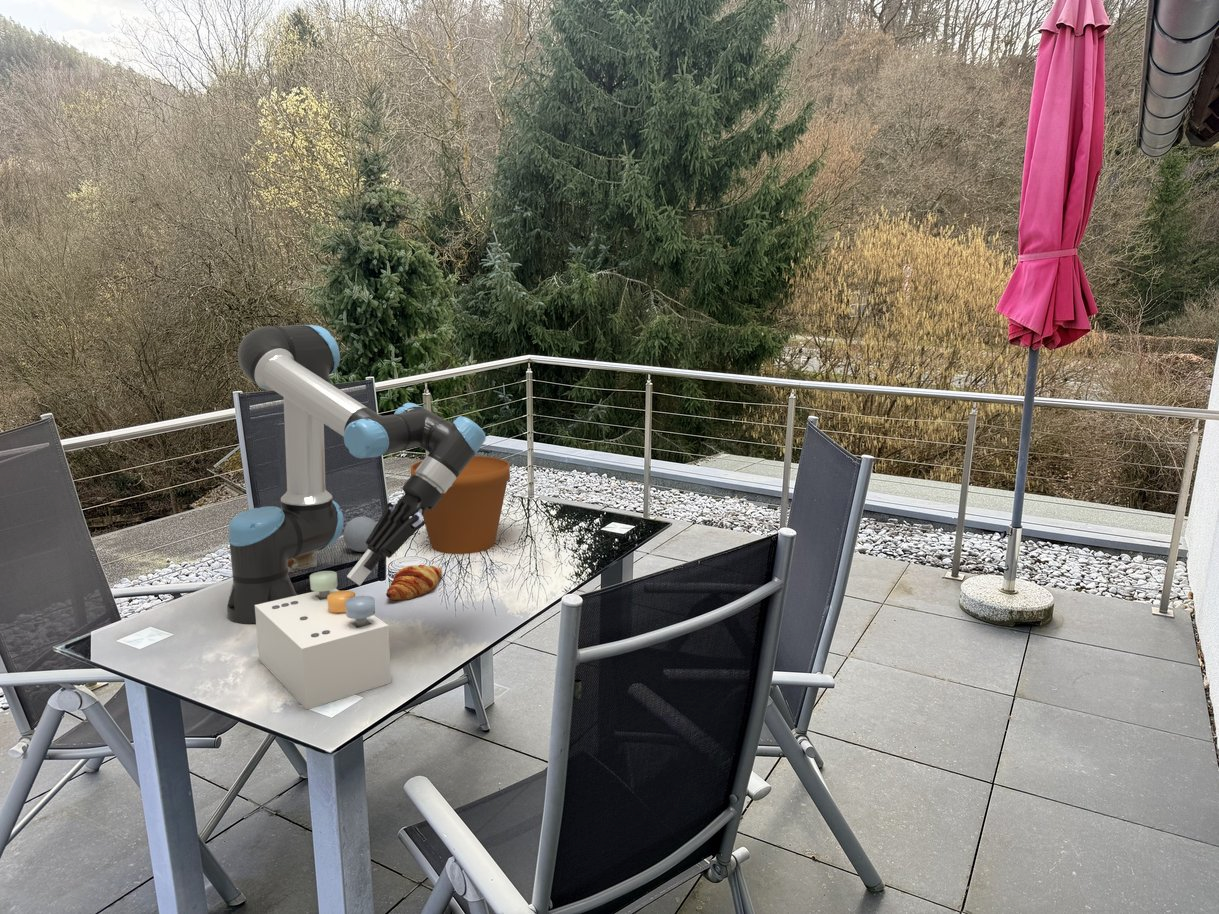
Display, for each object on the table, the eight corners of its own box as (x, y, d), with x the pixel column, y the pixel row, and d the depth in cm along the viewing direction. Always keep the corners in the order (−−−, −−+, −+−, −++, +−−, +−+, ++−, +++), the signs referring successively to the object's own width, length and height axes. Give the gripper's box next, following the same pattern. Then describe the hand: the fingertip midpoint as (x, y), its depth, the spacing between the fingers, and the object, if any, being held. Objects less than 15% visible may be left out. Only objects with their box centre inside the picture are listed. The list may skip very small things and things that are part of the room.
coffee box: (286, 574, 212) (281, 515, 208) (273, 569, 216) (268, 510, 212) (318, 566, 219) (314, 508, 215) (305, 561, 223) (301, 504, 219)
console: (337, 638, 173) (333, 586, 171) (391, 682, 154) (388, 624, 151) (259, 659, 163) (254, 604, 161) (306, 709, 143) (301, 647, 141)
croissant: (431, 588, 213) (419, 560, 213) (460, 575, 209) (447, 547, 209) (380, 615, 193) (366, 585, 193) (411, 602, 189) (397, 570, 189)
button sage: (332, 594, 169) (330, 569, 168) (342, 601, 165) (340, 575, 164) (307, 600, 166) (305, 574, 165) (317, 607, 162) (315, 581, 161)
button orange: (350, 614, 163) (348, 588, 162) (361, 622, 159) (359, 595, 158) (324, 621, 160) (323, 594, 159) (335, 629, 156) (333, 602, 155)
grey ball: (387, 547, 235) (386, 513, 233) (369, 558, 225) (367, 523, 223) (356, 544, 237) (354, 511, 235) (337, 554, 228) (335, 520, 226)
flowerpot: (495, 562, 223) (493, 478, 218) (398, 556, 227) (394, 474, 222) (522, 532, 250) (520, 457, 245) (434, 528, 254) (432, 454, 249)
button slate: (369, 620, 156) (367, 593, 155) (380, 629, 152) (379, 601, 151) (342, 627, 153) (340, 600, 151) (353, 636, 149) (352, 608, 148)
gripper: (456, 501, 161) (381, 600, 154) (425, 489, 171) (353, 581, 164) (431, 479, 157) (352, 580, 150) (401, 467, 167) (325, 562, 160)
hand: (353, 580), depth 157 cm, fingers closed
